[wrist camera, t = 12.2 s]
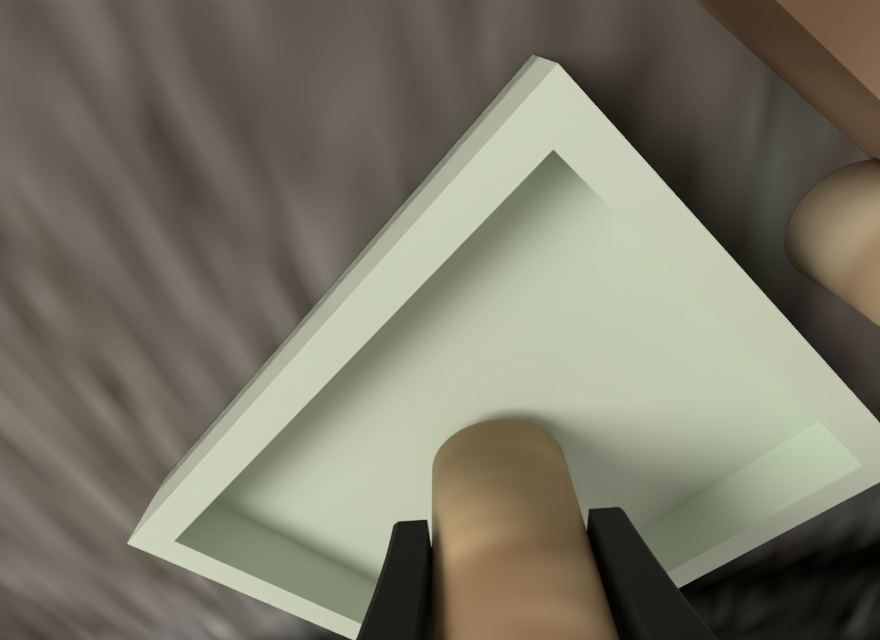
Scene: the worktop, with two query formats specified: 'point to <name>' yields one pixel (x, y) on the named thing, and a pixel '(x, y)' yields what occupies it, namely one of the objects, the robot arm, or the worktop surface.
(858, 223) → the cylinder
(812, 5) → the tan cardboard-coloured block
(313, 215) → the worktop surface
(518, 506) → the dowel
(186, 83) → the worktop surface
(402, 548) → the robot arm
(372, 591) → the tray
